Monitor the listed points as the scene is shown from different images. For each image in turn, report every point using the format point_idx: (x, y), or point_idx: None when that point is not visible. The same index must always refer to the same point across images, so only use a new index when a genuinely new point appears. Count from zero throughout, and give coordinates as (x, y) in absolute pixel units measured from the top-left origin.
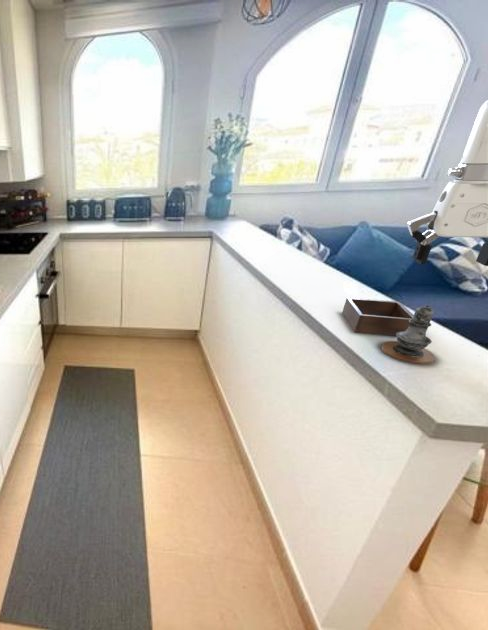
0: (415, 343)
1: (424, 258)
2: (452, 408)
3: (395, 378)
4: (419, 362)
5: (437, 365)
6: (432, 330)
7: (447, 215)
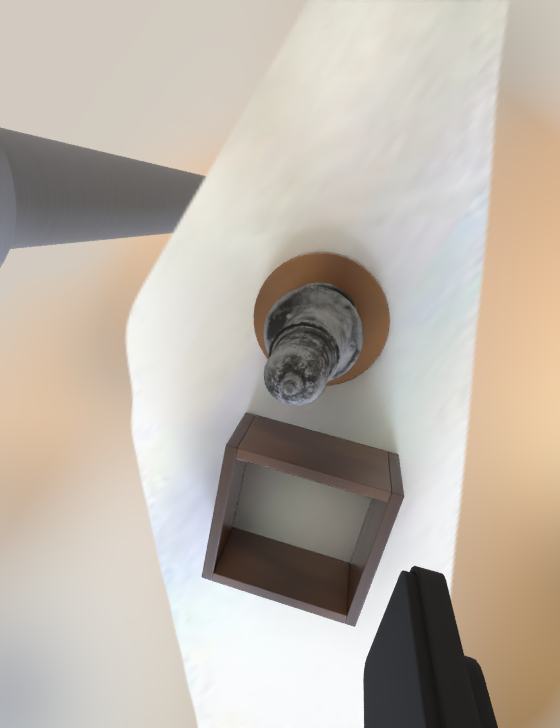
0: (335, 292)
1: (444, 624)
2: None
3: (470, 146)
4: (327, 252)
5: (276, 248)
6: (161, 455)
7: None
